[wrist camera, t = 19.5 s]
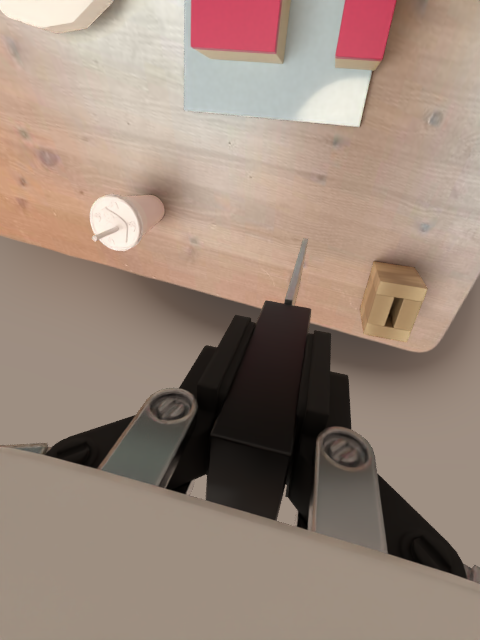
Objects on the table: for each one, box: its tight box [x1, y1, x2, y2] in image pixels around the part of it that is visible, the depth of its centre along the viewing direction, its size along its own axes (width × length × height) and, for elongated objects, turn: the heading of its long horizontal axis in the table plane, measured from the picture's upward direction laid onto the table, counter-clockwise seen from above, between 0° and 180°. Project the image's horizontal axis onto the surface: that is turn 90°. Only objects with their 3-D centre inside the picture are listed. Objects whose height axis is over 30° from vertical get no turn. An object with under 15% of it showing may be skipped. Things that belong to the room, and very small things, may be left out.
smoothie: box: [90, 194, 165, 251], centre depth 42 cm, size 6×6×14 cm
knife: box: [206, 238, 311, 521], centre depth 15 cm, size 2×3×16 cm, turn 175°
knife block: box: [360, 261, 428, 342], centre depth 42 cm, size 5×7×7 cm
